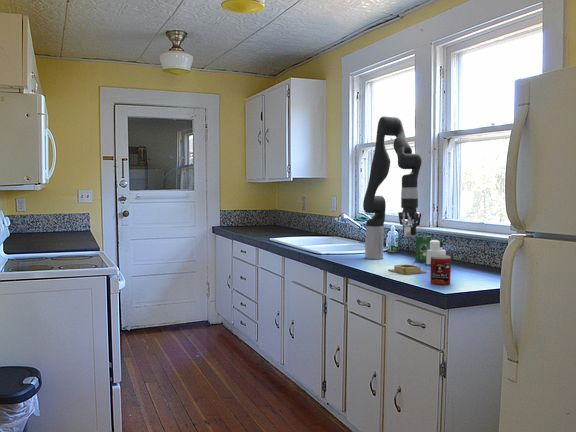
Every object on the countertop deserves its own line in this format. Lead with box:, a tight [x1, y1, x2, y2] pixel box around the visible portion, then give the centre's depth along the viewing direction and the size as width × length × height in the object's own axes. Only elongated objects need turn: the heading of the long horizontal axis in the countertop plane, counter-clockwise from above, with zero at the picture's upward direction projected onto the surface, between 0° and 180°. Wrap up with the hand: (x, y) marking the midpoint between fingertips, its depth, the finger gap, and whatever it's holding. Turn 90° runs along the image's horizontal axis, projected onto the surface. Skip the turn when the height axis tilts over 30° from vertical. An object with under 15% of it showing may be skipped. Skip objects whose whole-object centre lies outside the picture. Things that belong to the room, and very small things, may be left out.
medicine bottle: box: [425, 239, 447, 266], centre depth 260 cm, size 7×7×12 cm
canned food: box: [429, 255, 452, 286], centre depth 210 cm, size 8×8×11 cm
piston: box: [403, 223, 416, 238], centre depth 241 cm, size 5×5×5 cm
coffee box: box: [414, 235, 432, 263], centre depth 269 cm, size 8×3×13 cm, turn 117°
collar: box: [388, 263, 428, 276], centre depth 237 cm, size 12×12×3 cm
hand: (409, 234), depth 241 cm, fingers closed on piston, 5 cm apart
